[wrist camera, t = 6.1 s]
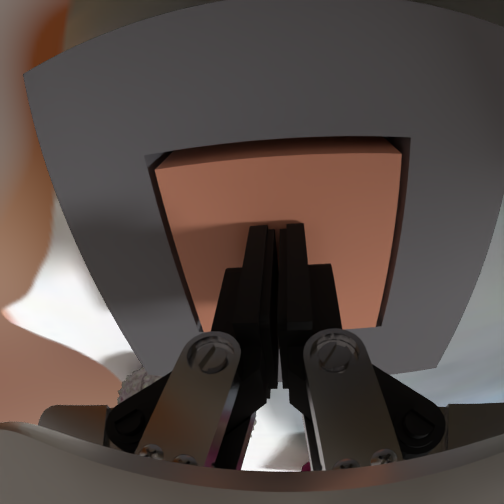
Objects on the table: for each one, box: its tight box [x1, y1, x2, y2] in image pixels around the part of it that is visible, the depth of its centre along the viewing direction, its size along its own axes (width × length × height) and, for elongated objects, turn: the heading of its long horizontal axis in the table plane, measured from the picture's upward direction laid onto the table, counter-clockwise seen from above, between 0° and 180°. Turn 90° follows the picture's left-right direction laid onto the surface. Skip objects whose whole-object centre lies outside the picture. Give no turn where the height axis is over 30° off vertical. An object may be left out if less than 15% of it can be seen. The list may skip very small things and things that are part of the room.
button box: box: [23, 0, 504, 382], centre depth 12 cm, size 16×16×6 cm
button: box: [155, 136, 402, 332], centre depth 11 cm, size 7×7×3 cm
